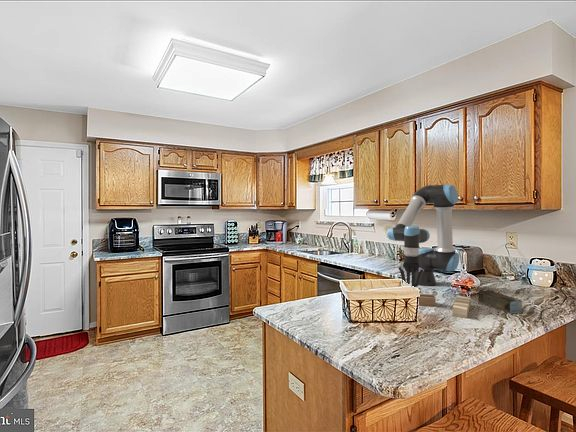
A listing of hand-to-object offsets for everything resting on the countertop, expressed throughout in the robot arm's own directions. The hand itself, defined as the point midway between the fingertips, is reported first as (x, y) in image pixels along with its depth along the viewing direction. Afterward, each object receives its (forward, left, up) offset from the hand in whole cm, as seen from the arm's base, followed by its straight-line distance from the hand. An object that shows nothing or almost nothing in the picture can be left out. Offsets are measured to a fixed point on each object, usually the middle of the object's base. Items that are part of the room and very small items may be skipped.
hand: (410, 299), depth 180 cm
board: (+1, +25, -1) cm, 25 cm away
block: (0, +7, -2) cm, 7 cm away
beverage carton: (-16, +40, -2) cm, 43 cm away
